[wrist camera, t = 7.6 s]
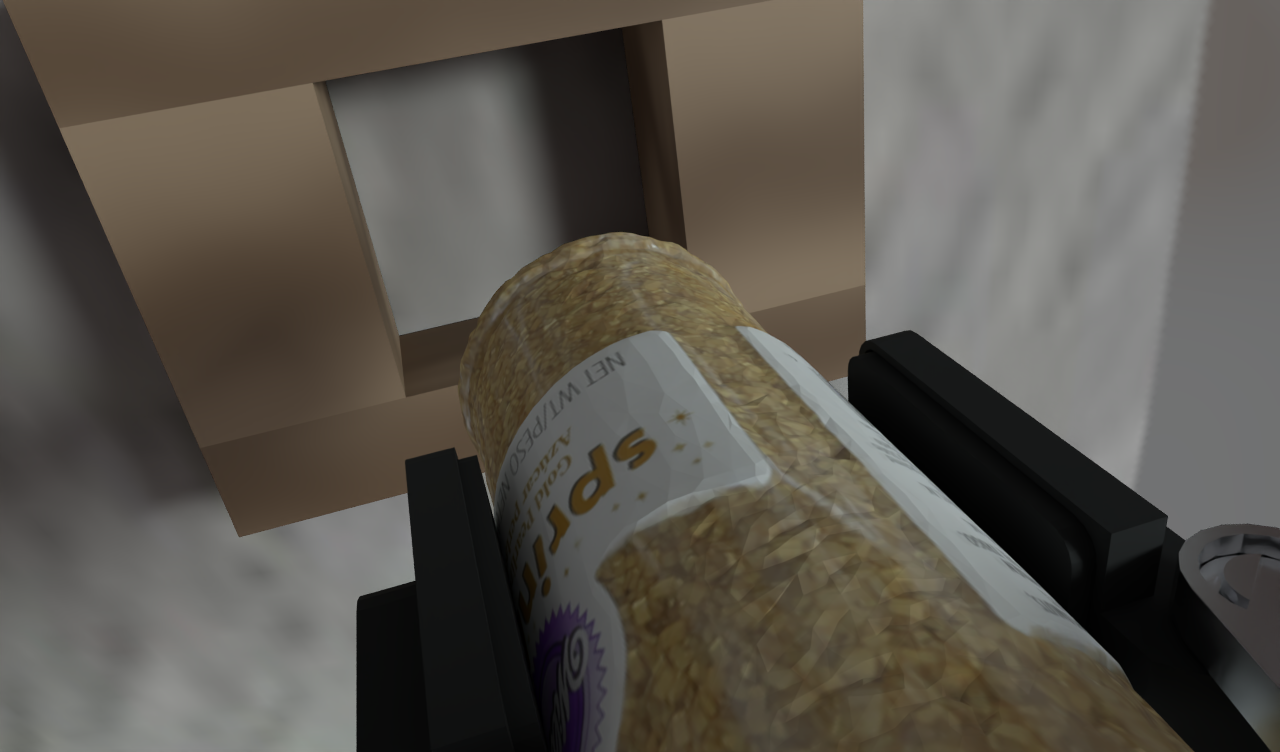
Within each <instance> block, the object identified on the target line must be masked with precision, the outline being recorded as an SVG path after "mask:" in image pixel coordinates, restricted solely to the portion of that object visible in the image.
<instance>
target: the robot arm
mask: <svg viewBox="0 0 1280 752" xmlns="http://www.w3.org/2000/svg"><path fill="white" fill-rule="evenodd" d="M848 402H849V403H850V404H851V405H853V406H854V407H855V408H856V409H857V410H858V411H859V412H860V413H861V414H862V415H863V416H864V417H865V418H866V419H867V420H868V421H869V422H870V423H871V424H872V425H873V426H874V427H875V428H876V429H877V430H878V431H879V432H880V433H881V434H882V435H884V436H885V437H886V438H887V439H888V440H889V441H890V442H891V443H892V444H893V445H894V446H895V447H896V448H897V449H898V450H899V451H900V452H901V453H902V454H903V455H904V456H905V457H906V458H907V459H909V460H910V461H911V462H912V463H913V464H914V465H915V466H916V467H917V468H918V469H919V470H920V471H921V472H922V473H923V474H924V475H925V476H926V477H927V478H928V479H930V480H931V481H932V482H933V483H934V484H935V485H936V486H937V487H938V488H939V489H940V490H941V491H942V492H943V493H944V494H945V495H946V496H947V497H948V498H949V499H950V500H951V501H952V502H953V503H955V504H956V505H957V506H958V507H959V508H960V509H961V510H962V511H963V512H964V513H965V514H966V515H967V516H968V517H969V518H970V519H971V520H972V521H973V522H974V523H975V524H976V525H977V526H979V527H980V528H981V529H982V530H983V531H984V532H985V533H986V534H987V535H988V536H989V537H990V538H991V539H992V540H993V541H994V542H995V543H996V544H997V545H999V546H1000V547H1001V548H1002V549H1003V550H1004V551H1005V552H1006V553H1007V554H1008V555H1009V556H1010V557H1011V558H1012V559H1013V560H1014V561H1015V562H1016V563H1017V564H1018V565H1020V566H1021V567H1022V568H1023V569H1024V570H1025V571H1026V572H1027V573H1028V574H1029V575H1030V576H1031V577H1032V578H1033V579H1034V580H1035V581H1036V582H1037V583H1038V584H1039V585H1040V586H1041V587H1042V588H1043V589H1044V590H1045V591H1046V592H1047V593H1048V594H1049V595H1050V596H1051V597H1052V598H1053V599H1054V600H1055V601H1056V602H1057V603H1058V604H1059V605H1060V606H1061V607H1062V608H1063V609H1064V610H1065V611H1066V612H1067V613H1068V614H1069V615H1070V616H1071V617H1072V618H1073V619H1074V620H1075V621H1076V622H1077V623H1078V624H1079V625H1080V626H1081V627H1082V628H1083V629H1084V630H1085V631H1086V632H1087V633H1089V634H1090V635H1091V636H1092V637H1093V638H1094V639H1095V640H1096V641H1097V642H1098V643H1099V644H1100V645H1101V646H1102V647H1103V648H1104V649H1105V650H1106V651H1107V652H1108V653H1109V654H1110V655H1111V656H1112V657H1113V658H1114V659H1115V660H1116V661H1117V662H1118V663H1119V665H1120V666H1121V668H1122V670H1123V671H1124V673H1125V675H1126V676H1127V678H1128V680H1129V682H1130V684H1131V686H1132V687H1133V689H1134V691H1135V692H1136V693H1137V694H1138V695H1139V696H1140V697H1142V698H1143V699H1144V700H1145V701H1146V702H1147V703H1148V704H1149V705H1150V706H1151V707H1152V708H1153V709H1154V710H1155V711H1156V712H1157V713H1158V714H1159V715H1160V716H1161V717H1162V719H1163V720H1164V721H1165V722H1166V723H1167V724H1168V725H1169V726H1170V727H1171V728H1172V729H1173V730H1174V731H1175V732H1176V733H1177V734H1178V735H1179V736H1180V737H1181V738H1182V739H1183V741H1184V742H1185V743H1186V744H1187V745H1188V746H1189V747H1190V748H1191V749H1192V750H1193V751H1194V752H1280V528H1277V527H1269V526H1261V525H1254V524H1225V525H1219V526H1215V527H1211V528H1207V529H1204V530H1200V531H1199V532H1197V533H1196V534H1194V535H1193V536H1191V537H1190V538H1188V539H1187V540H1184V539H1182V538H1181V537H1180V536H1178V535H1177V534H1176V533H1174V532H1173V531H1172V530H1170V529H1169V528H1167V527H1166V525H1167V519H1168V516H1167V515H1166V514H1165V513H1163V512H1162V511H1160V510H1159V509H1158V508H1156V507H1155V506H1153V505H1152V504H1151V503H1149V502H1148V501H1147V500H1145V499H1144V498H1142V497H1141V496H1140V495H1138V494H1137V493H1136V492H1134V491H1133V490H1132V489H1130V488H1129V487H1127V486H1126V485H1125V484H1123V483H1122V482H1121V481H1119V480H1118V479H1116V478H1115V477H1114V476H1112V475H1111V474H1110V473H1108V472H1107V471H1105V470H1104V469H1103V468H1101V467H1100V466H1099V465H1097V464H1096V463H1094V462H1093V461H1092V460H1090V459H1089V458H1088V457H1086V456H1085V455H1083V454H1082V453H1081V452H1079V451H1078V450H1077V449H1075V448H1074V447H1072V446H1071V445H1070V444H1068V443H1067V442H1066V441H1064V440H1063V439H1061V438H1060V437H1059V436H1057V435H1056V434H1055V433H1053V432H1052V431H1050V430H1049V429H1048V428H1046V427H1045V426H1044V425H1042V424H1041V423H1039V422H1038V421H1037V420H1035V419H1034V418H1033V417H1031V416H1030V415H1028V414H1027V413H1026V412H1024V411H1023V410H1022V409H1020V408H1019V407H1017V406H1016V405H1015V404H1013V403H1012V402H1011V401H1009V400H1008V399H1006V398H1005V397H1004V396H1002V395H1001V394H999V393H998V392H997V391H995V390H994V389H993V388H991V387H990V386H988V385H987V384H986V383H984V382H983V381H982V380H980V379H979V378H977V377H976V376H975V375H973V374H972V373H971V372H969V371H968V370H966V369H965V368H964V367H962V366H961V365H960V364H958V363H957V362H955V361H954V360H953V359H951V358H950V357H949V356H947V355H946V354H944V353H943V352H942V351H940V350H939V349H938V348H936V347H935V346H933V345H932V344H931V343H929V342H928V341H927V340H925V339H924V338H922V337H921V336H920V335H918V334H917V333H915V332H913V331H911V330H908V331H903V332H899V333H895V334H891V335H887V336H883V337H880V338H876V339H872V340H868V341H865V342H864V343H863V344H862V345H861V347H860V350H859V355H858V356H854V357H852V358H851V359H850V360H849V363H848ZM405 470H406V481H407V492H408V503H409V514H410V525H411V536H412V547H413V558H414V569H415V580H416V581H413V582H409V583H406V584H402V585H399V586H395V587H392V588H388V589H384V590H381V591H377V592H374V593H370V594H367V595H363V596H360V597H359V599H358V601H357V752H549V751H548V747H547V743H546V738H545V734H544V730H543V726H542V721H541V717H540V713H539V709H538V704H537V700H536V696H535V692H534V687H533V683H532V679H531V675H530V670H529V666H528V662H527V657H526V653H525V649H524V644H523V640H522V636H521V632H520V627H519V623H518V619H517V615H516V610H515V606H514V602H513V597H512V593H511V589H510V585H509V581H508V576H507V572H506V568H505V563H504V559H503V555H502V551H501V546H500V542H499V538H498V534H497V530H496V526H495V522H494V518H493V514H492V510H491V506H490V503H489V499H488V495H487V491H486V487H485V484H484V480H483V476H482V472H481V468H480V464H479V461H478V457H477V455H474V456H470V457H466V458H462V459H458V456H457V453H456V450H455V447H453V448H449V449H445V450H441V451H437V452H434V453H430V454H426V455H422V456H418V457H414V458H410V459H406V460H405Z"/></svg>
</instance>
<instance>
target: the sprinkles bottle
mask: <svg viewBox="0 0 1280 752" xmlns="http://www.w3.org/2000/svg"><path fill="white" fill-rule="evenodd" d="M458 395H459V400H460V406H461V412H462V416H463V421H464V426H465V428H466V430H467V433H468V435H469V437H470V440H471V441H472V443H473V445H474V447H475V448H476V450H477V452H478V454H479V455H480V458H481V460H482V462H483V464H484V467H485V475H486V482H487V485H488V489H489V492H490V495H491V498H492V502H493V506H494V522H495V526H496V530H497V534H498V538H499V542H500V546H501V551H502V555H503V559H504V563H505V568H506V572H507V576H508V581H509V585H510V589H511V593H512V597H513V602H514V606H515V610H516V615H517V619H518V623H519V627H520V632H521V636H522V640H523V644H524V649H525V653H526V657H527V662H528V666H529V670H530V675H531V679H532V683H533V687H534V692H535V696H536V700H537V704H538V709H539V713H540V717H541V721H542V726H543V730H544V734H545V738H546V743H547V747H548V751H549V752H1194V751H1193V750H1192V749H1191V748H1190V747H1189V746H1188V745H1187V744H1186V743H1185V742H1184V741H1183V739H1182V738H1181V737H1180V736H1179V735H1178V734H1177V733H1176V732H1175V731H1174V730H1173V729H1172V728H1171V727H1170V726H1169V725H1168V724H1167V723H1166V722H1165V721H1164V720H1163V719H1162V717H1161V716H1160V715H1159V714H1158V713H1157V712H1156V711H1155V710H1154V709H1153V708H1152V707H1151V706H1150V705H1149V704H1148V703H1147V702H1146V701H1145V700H1144V699H1143V698H1142V697H1140V696H1139V695H1138V694H1137V693H1136V692H1135V691H1134V689H1133V687H1132V686H1131V684H1130V682H1129V680H1128V678H1127V676H1126V675H1125V673H1124V671H1123V670H1122V668H1121V666H1120V665H1119V663H1118V662H1117V661H1116V660H1115V659H1114V658H1113V657H1112V656H1111V655H1110V654H1109V653H1108V652H1107V651H1106V650H1105V649H1104V648H1103V647H1102V646H1101V645H1100V644H1099V643H1098V642H1097V641H1096V640H1095V639H1094V638H1093V637H1092V636H1091V635H1090V634H1089V633H1087V632H1086V631H1085V630H1084V629H1083V628H1082V627H1081V626H1080V625H1079V624H1078V623H1077V622H1076V621H1075V620H1074V619H1073V618H1072V617H1071V616H1070V615H1069V614H1068V613H1067V612H1066V611H1065V610H1064V609H1063V608H1062V607H1061V606H1060V605H1059V604H1058V603H1057V602H1056V601H1055V600H1054V599H1053V598H1052V597H1051V596H1050V595H1049V594H1048V593H1047V592H1046V591H1045V590H1044V589H1043V588H1042V587H1041V586H1040V585H1039V584H1038V583H1037V582H1036V581H1035V580H1034V579H1033V578H1032V577H1031V576H1030V575H1029V574H1028V573H1027V572H1026V571H1025V570H1024V569H1023V568H1022V567H1021V566H1020V565H1018V564H1017V563H1016V562H1015V561H1014V560H1013V559H1012V558H1011V557H1010V556H1009V555H1008V554H1007V553H1006V552H1005V551H1004V550H1003V549H1002V548H1001V547H1000V546H999V545H997V544H996V543H995V542H994V541H993V540H992V539H991V538H990V537H989V536H988V535H987V534H986V533H985V532H984V531H983V530H982V529H981V528H980V527H979V526H977V525H976V524H975V523H974V522H973V521H972V520H971V519H970V518H969V517H968V516H967V515H966V514H965V513H964V512H963V511H962V510H961V509H960V508H959V507H958V506H957V505H956V504H955V503H953V502H952V501H951V500H950V499H949V498H948V497H947V496H946V495H945V494H944V493H943V492H942V491H941V490H940V489H939V488H938V487H937V486H936V485H935V484H934V483H933V482H932V481H931V480H930V479H928V478H927V477H926V476H925V475H924V474H923V473H922V472H921V471H920V470H919V469H918V468H917V467H916V466H915V465H914V464H913V463H912V462H911V461H910V460H909V459H907V458H906V457H905V456H904V455H903V454H902V453H901V452H900V451H899V450H898V449H897V448H896V447H895V446H894V445H893V444H892V443H891V442H890V441H889V440H888V439H887V438H886V437H885V436H884V435H882V434H881V433H880V432H879V431H878V430H877V429H876V428H875V427H874V426H873V425H872V424H871V423H870V422H869V421H868V420H867V419H866V418H865V417H864V416H863V415H862V414H861V413H860V412H859V411H858V410H857V409H856V408H855V407H854V406H853V405H851V404H850V403H849V402H848V401H847V400H846V399H845V398H844V397H843V396H842V395H841V394H840V393H839V392H838V391H837V390H836V389H835V388H834V387H833V386H832V385H831V384H830V383H829V382H828V381H827V380H826V379H825V378H824V377H823V376H821V375H820V374H819V373H818V372H817V371H816V370H815V369H814V368H813V367H812V366H811V365H810V364H809V363H808V362H807V361H806V360H805V359H804V358H802V357H801V356H800V355H799V354H798V353H796V352H795V351H794V350H793V349H791V348H790V347H789V346H788V345H787V344H785V343H783V342H782V341H780V340H778V339H776V338H774V337H773V336H771V335H769V334H768V333H767V332H766V331H765V330H764V329H763V327H762V326H761V325H760V324H759V323H758V322H757V321H756V320H755V319H754V318H753V317H752V316H751V315H750V314H749V313H748V312H747V311H746V310H745V309H744V307H743V305H742V303H741V302H740V301H739V299H738V298H737V297H736V296H735V294H734V293H733V292H732V289H731V287H730V285H729V284H728V282H727V281H726V280H725V279H724V278H723V277H722V276H721V275H720V274H719V273H718V271H717V270H716V269H714V268H713V267H712V266H710V265H709V264H708V263H705V262H704V261H702V260H701V259H699V258H698V257H696V256H695V255H693V254H691V253H689V252H688V251H687V250H685V249H684V248H683V247H681V246H680V245H678V244H675V243H673V242H665V241H659V240H656V239H654V238H651V237H646V236H641V235H637V234H633V233H626V232H611V233H607V234H602V235H595V236H589V237H585V238H581V239H578V240H576V241H572V242H569V243H566V244H563V245H561V246H560V247H558V248H557V249H555V250H554V251H552V252H550V253H548V254H545V255H543V256H541V257H540V258H538V259H536V260H535V261H533V262H531V263H530V264H528V265H526V266H525V267H523V268H522V269H520V270H519V272H518V273H517V274H516V275H515V276H514V277H513V278H511V279H509V280H508V281H506V282H505V283H504V284H503V285H502V286H501V287H500V288H499V289H498V290H497V291H496V293H495V294H494V295H493V297H492V298H491V300H490V301H489V302H488V304H487V305H486V307H485V309H484V310H483V312H482V313H481V315H480V317H479V318H478V322H477V327H476V328H475V329H474V330H473V331H472V332H471V334H470V336H469V340H468V344H467V347H466V350H465V352H464V355H463V357H462V359H461V364H460V378H459V383H458Z"/></svg>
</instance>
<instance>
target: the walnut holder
mask: <svg viewBox="0 0 1280 752" xmlns="http://www.w3.org/2000/svg"><path fill="white" fill-rule="evenodd" d="M3 2H4V4H5V6H6V9H7V11H8V13H9V16H10V18H11V20H12V22H13V25H14V27H15V29H16V31H17V34H18V36H19V38H20V41H21V43H22V45H23V47H24V50H25V52H26V54H27V56H28V59H29V61H30V63H31V66H32V68H33V70H34V72H35V75H36V77H37V79H38V81H39V84H40V86H41V88H42V91H43V93H44V95H45V97H46V100H47V102H48V104H49V106H50V109H51V111H52V113H53V116H54V118H55V120H56V122H57V125H58V127H59V129H60V131H61V134H62V136H63V138H64V141H65V143H66V145H67V147H68V150H69V152H70V154H71V156H72V159H73V161H74V163H75V166H76V168H77V170H78V172H79V175H80V177H81V179H82V181H83V184H84V186H85V188H86V191H87V193H88V195H89V197H90V200H91V202H92V204H93V206H94V209H95V211H96V213H97V216H98V218H99V220H100V222H101V225H102V227H103V229H104V231H105V234H106V236H107V238H108V241H109V243H110V245H111V247H112V250H113V252H114V254H115V256H116V259H117V261H118V263H119V266H120V268H121V270H122V272H123V275H124V277H125V279H126V281H127V284H128V286H129V288H130V291H131V293H132V295H133V297H134V300H135V302H136V304H137V306H138V309H139V311H140V313H141V316H142V318H143V320H144V322H145V325H146V327H147V329H148V331H149V334H150V336H151V338H152V341H153V343H154V345H155V347H156V350H157V352H158V354H159V356H160V359H161V361H162V363H163V366H164V368H165V370H166V372H167V375H168V377H169V379H170V381H171V384H172V386H173V388H174V391H175V393H176V395H177V397H178V400H179V402H180V404H181V406H182V409H183V411H184V413H185V416H186V418H187V420H188V422H189V425H190V427H191V429H192V431H193V434H194V436H195V438H196V441H197V443H198V445H199V447H200V450H201V452H202V454H203V456H204V459H205V461H206V463H207V466H208V468H209V470H210V472H211V475H212V477H213V479H214V481H215V484H216V486H217V488H218V491H219V493H220V495H221V497H222V500H223V502H224V504H225V506H226V509H227V511H228V513H229V516H230V518H231V520H232V522H233V525H234V527H235V529H236V531H237V534H238V536H239V537H242V536H246V535H250V534H253V533H257V532H261V531H265V530H269V529H272V528H276V527H280V526H284V525H287V524H291V523H295V522H299V521H303V520H306V519H310V518H314V517H318V516H322V515H325V514H329V513H333V512H337V511H340V510H344V509H348V508H352V507H356V506H359V505H363V504H367V503H371V502H374V501H378V500H382V499H386V498H390V497H393V496H397V495H401V494H405V493H408V492H407V481H406V470H405V460H406V459H410V458H414V457H418V456H422V455H426V454H430V453H434V452H437V451H441V450H445V449H449V448H453V447H455V450H456V453H457V456H458V459H462V458H466V457H470V456H474V455H477V457H478V461H479V464H480V468H481V472H482V473H484V472H485V467H484V464H483V462H482V460H481V458H480V455H479V454H478V452H477V450H476V448H475V447H474V445H473V443H472V441H471V440H470V437H469V435H468V433H467V430H466V428H465V426H464V421H463V416H462V412H461V406H460V400H459V395H458V383H459V378H460V364H461V359H462V357H463V355H464V352H465V350H466V347H467V344H468V340H469V336H470V334H471V332H472V331H473V330H474V329H475V328H476V327H477V322H478V318H479V317H478V318H474V319H470V320H466V321H461V322H457V323H453V324H448V325H444V326H440V327H436V328H431V329H427V330H423V331H418V332H414V333H410V334H406V335H401V336H399V334H398V330H397V327H396V324H395V320H394V317H393V313H392V310H391V306H390V303H389V299H388V296H387V293H386V289H385V286H384V282H383V279H382V275H381V272H380V268H379V265H378V261H377V258H376V255H375V251H374V248H373V244H372V241H371V237H370V234H369V230H368V227H367V224H366V220H365V217H364V213H363V210H362V206H361V203H360V199H359V196H358V192H357V189H356V186H355V182H354V179H353V175H352V172H351V168H350V165H349V161H348V158H347V155H346V151H345V148H344V144H343V141H342V137H341V134H340V130H339V127H338V123H337V120H336V117H335V113H334V110H333V106H332V103H331V99H330V96H329V92H328V89H327V85H326V82H325V81H326V80H331V79H337V78H342V77H348V76H353V75H359V74H365V73H370V72H376V71H381V70H387V69H392V68H398V67H404V66H409V65H415V64H420V63H426V62H431V61H437V60H443V59H448V58H454V57H459V56H465V55H470V54H476V53H481V52H487V51H493V50H498V49H504V48H509V47H515V46H520V45H526V44H532V43H537V42H543V41H548V40H554V39H559V38H565V37H571V36H576V35H582V34H587V33H593V32H598V31H604V30H610V29H615V28H621V27H622V33H623V41H624V48H625V56H626V64H627V71H628V79H629V86H630V94H631V102H632V109H633V117H634V125H635V132H636V140H637V148H638V155H639V163H640V170H641V178H642V186H643V193H644V201H645V209H646V216H647V224H648V232H649V237H651V238H654V239H656V240H659V241H665V242H673V243H675V244H678V245H680V246H681V247H683V248H684V249H685V250H687V251H688V252H689V253H691V254H693V255H695V256H696V257H698V258H699V259H701V260H702V261H704V262H705V263H708V264H709V265H710V266H712V267H713V268H714V269H716V270H717V271H718V273H719V274H720V275H721V276H722V277H723V278H724V279H725V280H726V281H727V282H728V284H729V285H730V287H731V289H732V292H733V293H734V294H735V296H736V297H737V298H738V299H739V301H740V302H741V303H742V305H743V307H744V309H745V310H746V311H747V312H748V313H749V314H750V315H751V316H752V317H753V318H754V319H755V320H756V321H757V322H758V323H759V324H760V325H761V326H762V327H763V329H764V330H765V331H766V332H767V333H768V334H769V335H771V336H773V337H774V338H776V339H778V340H780V341H782V342H783V343H785V344H787V345H788V346H789V347H790V348H791V349H793V350H794V351H795V352H796V353H798V354H799V355H800V356H801V357H802V358H804V359H805V360H806V361H807V362H808V363H809V364H810V365H811V366H812V367H813V368H814V369H815V370H816V371H817V372H818V373H819V374H820V375H821V376H823V377H824V378H825V379H826V380H827V381H832V380H836V379H839V378H843V377H847V376H848V363H849V360H850V359H851V358H852V357H854V356H858V355H859V350H860V347H861V345H862V344H863V343H864V342H865V341H866V320H865V195H864V69H863V0H3Z"/></svg>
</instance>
